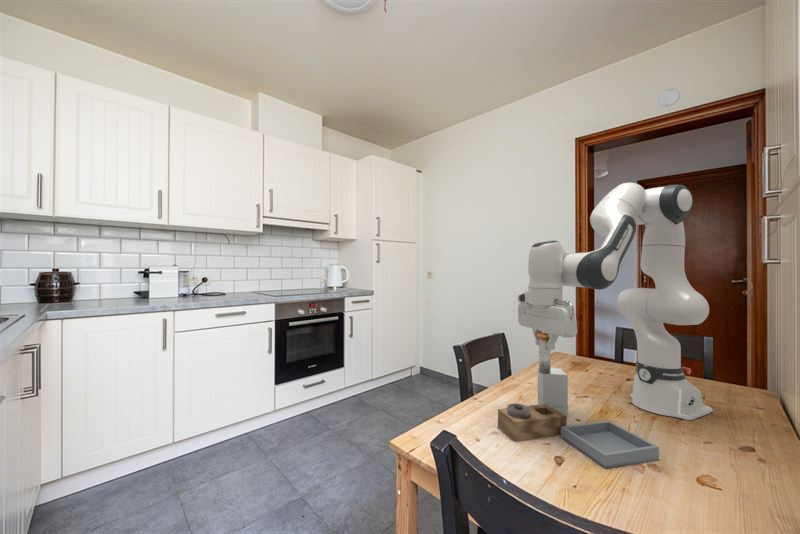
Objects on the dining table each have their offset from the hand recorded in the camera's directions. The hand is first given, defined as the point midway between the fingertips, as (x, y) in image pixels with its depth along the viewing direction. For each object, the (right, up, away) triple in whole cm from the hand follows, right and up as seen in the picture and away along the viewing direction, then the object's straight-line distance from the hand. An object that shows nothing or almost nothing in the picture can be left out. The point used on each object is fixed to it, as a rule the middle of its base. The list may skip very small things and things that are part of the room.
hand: (544, 347), depth 90 cm
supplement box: (+8, -23, +12) cm, 28 cm away
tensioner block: (-4, -23, -1) cm, 23 cm away
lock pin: (0, -7, 0) cm, 7 cm away
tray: (+11, -23, -10) cm, 27 cm away
